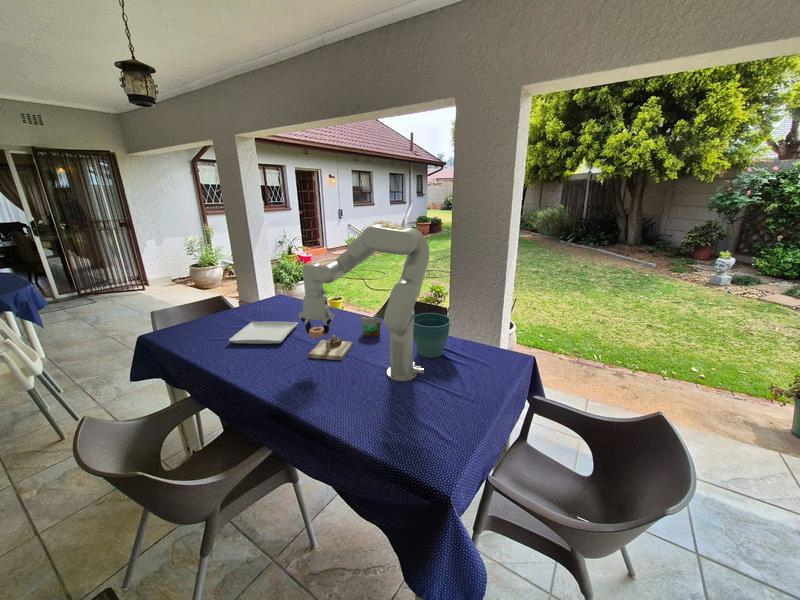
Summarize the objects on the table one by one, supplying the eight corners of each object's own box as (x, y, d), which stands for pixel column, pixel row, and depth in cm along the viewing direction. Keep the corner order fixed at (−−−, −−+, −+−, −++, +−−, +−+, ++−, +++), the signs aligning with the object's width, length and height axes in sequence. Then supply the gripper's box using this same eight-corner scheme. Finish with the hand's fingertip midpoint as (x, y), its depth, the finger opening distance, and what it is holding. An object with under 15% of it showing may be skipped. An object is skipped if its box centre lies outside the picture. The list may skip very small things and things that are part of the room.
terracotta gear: (329, 332, 148) (328, 326, 147) (322, 338, 141) (322, 333, 140) (313, 331, 149) (313, 326, 148) (306, 337, 142) (306, 332, 141)
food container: (356, 335, 181) (355, 317, 178) (363, 331, 186) (362, 314, 183) (376, 339, 175) (375, 321, 173) (382, 335, 181) (381, 318, 178)
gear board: (352, 345, 168) (352, 333, 167) (341, 360, 153) (341, 347, 151) (322, 343, 171) (321, 331, 169) (308, 357, 156) (307, 344, 154)
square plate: (282, 347, 168) (281, 339, 167) (228, 347, 169) (227, 339, 168) (299, 327, 194) (298, 320, 193) (252, 327, 195) (251, 320, 194)
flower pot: (447, 363, 150) (449, 327, 145) (408, 359, 153) (408, 325, 148) (450, 346, 167) (451, 314, 162) (414, 343, 170) (414, 311, 165)
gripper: (337, 291, 142) (340, 330, 147) (298, 289, 144) (302, 328, 150) (330, 296, 134) (333, 337, 140) (290, 294, 137) (294, 335, 142)
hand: (317, 332), depth 145 cm, fingers closed on terracotta gear, 7 cm apart
